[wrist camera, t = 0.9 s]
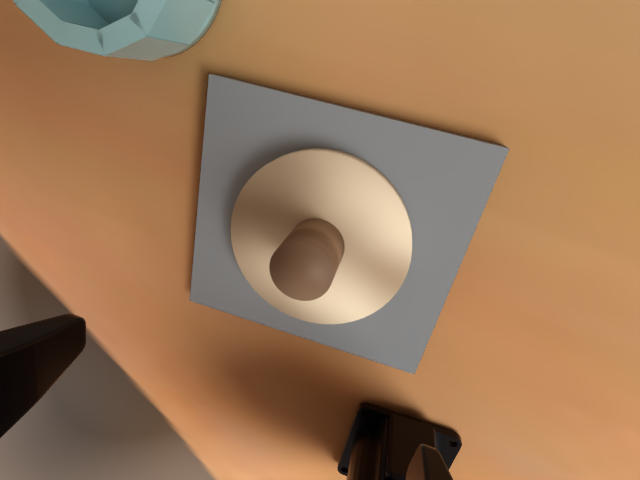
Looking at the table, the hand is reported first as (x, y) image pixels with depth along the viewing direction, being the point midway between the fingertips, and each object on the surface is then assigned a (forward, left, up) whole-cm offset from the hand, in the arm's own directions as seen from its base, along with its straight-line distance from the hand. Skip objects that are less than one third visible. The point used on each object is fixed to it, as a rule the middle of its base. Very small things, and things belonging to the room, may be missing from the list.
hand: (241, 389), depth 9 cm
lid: (0, 0, -11) cm, 11 cm away
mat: (0, 0, -12) cm, 12 cm away
